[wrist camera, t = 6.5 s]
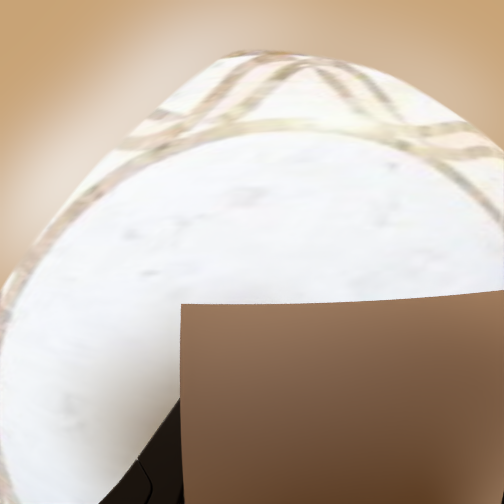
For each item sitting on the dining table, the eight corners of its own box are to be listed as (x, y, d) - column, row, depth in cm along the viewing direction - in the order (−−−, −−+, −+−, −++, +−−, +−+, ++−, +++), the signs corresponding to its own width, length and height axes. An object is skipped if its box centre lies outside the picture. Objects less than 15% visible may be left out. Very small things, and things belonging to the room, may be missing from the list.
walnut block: (324, 445, 13) (488, 548, 2) (222, 451, 13) (200, 619, 2) (322, 350, 15) (503, 289, 4) (220, 353, 15) (181, 303, 4)
